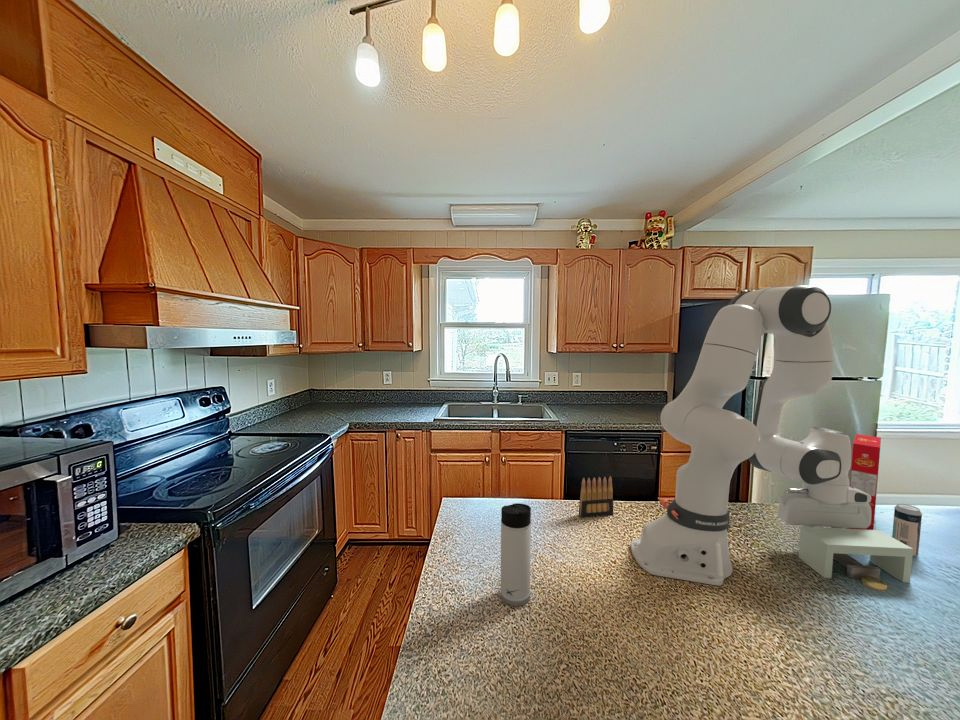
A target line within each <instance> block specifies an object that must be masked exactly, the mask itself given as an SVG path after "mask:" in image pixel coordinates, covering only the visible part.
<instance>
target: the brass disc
mask: <svg viewBox="0 0 960 720" xmlns="http://www.w3.org/2000/svg"><path fill="white" fill-rule="evenodd" d="M860 580H861V583H862V584H863V585H864V586H866V587H867V588H870V589H871V590H874V591H878V592H887V590H888V584H887V583H886V582H885V581H883V580H881V579H877V578H875V577H871V576H862V577H861V579H860Z"/></svg>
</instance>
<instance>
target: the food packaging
mask: <svg viewBox="0 0 960 720" xmlns="http://www.w3.org/2000/svg"><path fill="white" fill-rule="evenodd" d="M881 441H882V437H879V436H873V435H867V434H860V433H856V434H855V437H854V440H853V444H852V452H851V467H850V479H849V481H850V484H849V486H852V487H854V488H857V489H859V490H861V491H863V492H865V493H867V494H869V495H871V502H869V503H868V504H869V505H870V506H871V524H870V526H869V527H868V528H848V529H863V530H874V527H875V526H874V525H875V517H876V516H875V515H876V503H877V502H876V501H877V495H878V494H877V491H878V479H879V468H880V467H879V466H880V457H881V456H880V454H881V444H882V443H881Z"/></svg>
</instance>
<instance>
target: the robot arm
mask: <svg viewBox="0 0 960 720" xmlns="http://www.w3.org/2000/svg"><path fill="white" fill-rule="evenodd" d="M831 313H832V303H831V299H830V298H829V296H828V295H827V293H826V292H825V291H824V290H823V289H822V288H819V287H817V286H813V285H801V284H800V285H795V286H780V287H779V286H771V287H764V288H760V289H756V290H747V291H744V292H741V293H739V294H737V295H735V296H734V297H733V298H731V300H730V301H729V302H728V303H727V305H725V306H723V307H722V308H720V309H719V310H718V312H717V313H716V315H715V317H714V318H713V320H712V322H711V324H710V326H709V327H708V330H707V332H706V336H705V338H704V341H703V344H702V347H701V349H700V354H699V356H698V360H697V362H696V364H695V368H694V370H693V372H692V375H691V377H690V379H689V380H688V382H687V383H686V385H685V387H684V388H683V389H682V391H681V392H680V393H679V395H677V397H676V398H674V399H673V400H671V401H670V402H668V403H666V404H665V405H664V406H663V408H662V410H661V413H660V417H659V418H660V424H661V427H662V428H663V429H664V430H665V432H666V433H668V435H670V436H672V438H673V439H675V440H677V441H678V442H681V443H683V444H686V445H688V446H690V449H691V451H690V456H689V459H688V461H687V463H684V464H682V465H681V466H679V467H678V469H677V471H676V476H675V478H676V480H675V498H674V499H673V500H672V502H671V503H670V501H669V500H668V499H667V498H665V497H664V498H661V499H660V501H659V504H660V506H662V507H663V509H664V510H665V509H667V510H666V513H664V514H663V515H662V516H660V517H658V518H656V519H654V520H652V521H651V522H649V523H646V524H645V525H644V526H643V529H642V532H641V534H640V538H634V539H633V540H631V544H630V551H631V554H632V556H633V558H634V559H635V562H636V563H637V564H638V565H639V566H640V567H641V568H642V569H643V570H644V571H646V572H647V573H649V574H650V575H653V576H658V577H665V578H670V579H677V580H683V581H687V582H694V583H699V584H705V585H706V584H707V585H713V586H717V587H719V586H723V585H724V582H725V581H724V580H725V579H726V578H729V577H730V576H731V575H732V574H733V571H734V568H733V564H732V562H731V558H730V557H731V556H730V551H729V542H728V532H729V530H730V510H729V506H728V505H729V494H730V484H731V479H732V477H733V474H734V472H735V469H736V468H737V467H738V465H740V464H741V463H742V462H745V461H747V460H748V461H749V462H750V464H751V465H752V466H753V467H754V468H756V469H759V470H762V471H767V472H770V473H775V474H777V475H779V476H782V477H785V478H789V479H792V480H794V481H798V482H800V483H802V488H792V487H791V488H790V487H789V488H787V489H786V490H783V491H782V493H781V494H780V495H781V496H780V501H779V506H778V510H777V511H778V512H777V516H778V518H779V519H780V520H781V521H783V522H784V523H785V524H787V525H788V526H789V525H790V526H801V527H815V526H823V527H825V528H842V529H843V528H844V529H849V528H868V527H869V526H870V524H871V506H870V505H869V504H868V503H869V502H871V495H869V494H867V493H865V492H863V491H861V490H859V489H857V488H854V487H852V486H850V479H849V473H850V472H849V471H851V466H852V444H851V439H850V436H849V435H848V434H846V433H845V432H843V431H839V430H835V429H829V428H825V427H820V426H819V427H818V426H813V427H812V426H811V427H810V428H809V430H808V433H807V437H805V438H804V439H802V440H800V441H795V440H792V439H789V438H786V437H785V438H784V437H782V436H781V435H780V434H779V433H778V429H779V424H780V419H781V414H782V409H783V407H784V405H785V403H786V402H788V401H790V400H791V399H796V398H800V397H807V396H810V395H813V394H816V393H819V392H820V391H822V390H824V389H826V387H828V385H829V384H831V381H832V379H833V376H834V342H833V337H832V331H831V328H830V324H829V322H828V321H829V318H830V316H831ZM765 334H769V335H771V334H772V335H773V336H774V338H775V345H774V346H775V347H774V364H773V368H772V371H771V373H770V375H769V377H767V378H765V379H764V380H763V382H762V383H761V385H760V388H759V392H758V396H757V400H756V401H757V402H756V406H755V410H754V418H753V422H752V421H750V420H749V419H747V418H746V417H743V416H742V415H740V414H739V413H736V412H734V411H731V410H728V409H724V408H723V407H724V406H725V405H726V403H727V402H728V401H729V400H730V399H731V398H732V397H733V396H734V395H736V394H738V393H741V392H742V391H744V390H745V389H746V387H747V386H748V383H749V381H750V379H751V375H752V371H753V368H754V365H755V362H756V359H757V356H758V351H759V349H760V345H761V339H762V336H764V335H765Z"/></svg>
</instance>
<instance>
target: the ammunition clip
mask: <svg viewBox="0 0 960 720" xmlns="http://www.w3.org/2000/svg"><path fill="white" fill-rule="evenodd" d="M612 481H613V479H612V476H610V475H609V477H608V481H607V478H606V476H604V477H603V479H602V478H601V477H600V476H598V478H597V480H596V478H595V476H594V477H593V478H592V480H591V479H590V477H587V481H586V480H585V477H583V478H582V481H581V486H580V487H581V489H580V494H579V495H580V497H579V505H578V515H579V516H580V517H581V518H590V517H602V516H603V517H604V516H613V515H614V498H613V491H614V490H613V482H612Z"/></svg>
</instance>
